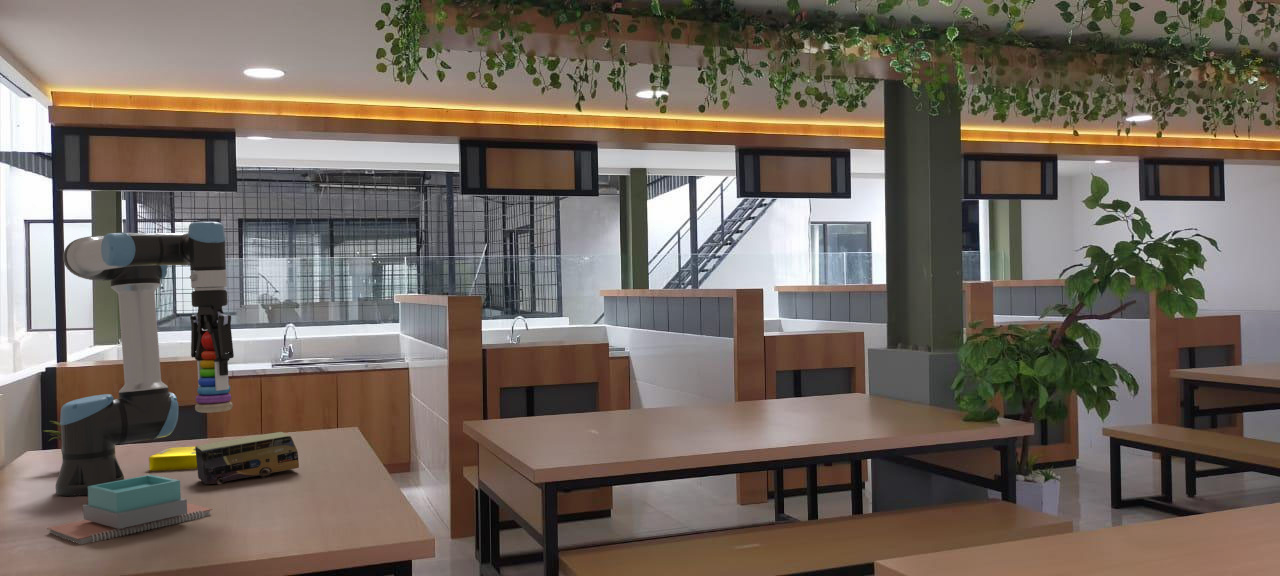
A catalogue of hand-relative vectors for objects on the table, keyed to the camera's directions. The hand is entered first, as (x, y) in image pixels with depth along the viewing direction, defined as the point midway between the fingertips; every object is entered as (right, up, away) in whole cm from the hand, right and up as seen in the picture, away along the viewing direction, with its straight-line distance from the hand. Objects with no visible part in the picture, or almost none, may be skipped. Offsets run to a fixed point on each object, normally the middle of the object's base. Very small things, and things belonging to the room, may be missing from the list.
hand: (213, 388), depth 219 cm
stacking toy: (0, -5, 0) cm, 5 cm away
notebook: (-10, -28, -16) cm, 34 cm away
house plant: (-63, -29, +54) cm, 88 cm away
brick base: (-9, -25, -18) cm, 32 cm away
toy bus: (-5, -27, +31) cm, 41 cm away
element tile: (-32, -28, +53) cm, 67 cm away
